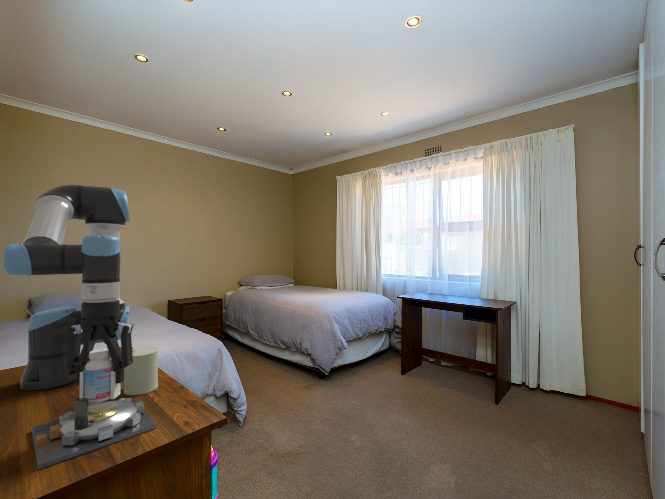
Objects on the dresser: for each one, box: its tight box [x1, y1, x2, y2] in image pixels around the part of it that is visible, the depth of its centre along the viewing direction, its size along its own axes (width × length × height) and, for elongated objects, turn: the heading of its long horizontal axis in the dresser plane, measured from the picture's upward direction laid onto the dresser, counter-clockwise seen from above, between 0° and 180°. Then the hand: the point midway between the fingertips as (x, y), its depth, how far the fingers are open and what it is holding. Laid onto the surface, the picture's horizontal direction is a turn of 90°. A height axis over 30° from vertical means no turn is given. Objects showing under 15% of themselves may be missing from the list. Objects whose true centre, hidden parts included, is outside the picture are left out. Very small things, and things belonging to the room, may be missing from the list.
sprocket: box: [50, 397, 145, 445], centre depth 77 cm, size 18×18×8 cm
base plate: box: [31, 398, 158, 471], centre depth 76 cm, size 19×21×2 cm
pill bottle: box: [85, 347, 114, 403], centre depth 77 cm, size 6×6×11 cm
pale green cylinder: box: [123, 346, 159, 396], centre depth 99 cm, size 9×9×12 cm
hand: (100, 397), depth 77 cm, fingers closed on pill bottle, 6 cm apart
